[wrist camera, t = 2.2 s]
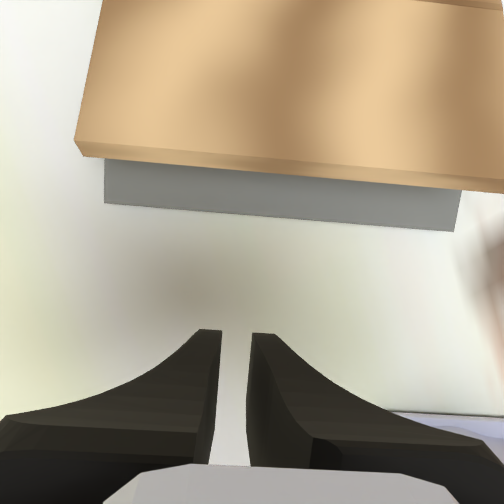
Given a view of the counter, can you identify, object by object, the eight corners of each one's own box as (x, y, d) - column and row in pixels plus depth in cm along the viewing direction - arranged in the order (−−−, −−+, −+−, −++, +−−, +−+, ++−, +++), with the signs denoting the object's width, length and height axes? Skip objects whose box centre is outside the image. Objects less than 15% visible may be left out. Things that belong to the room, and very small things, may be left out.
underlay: (496, -49, 18) (511, -61, 17) (443, 228, 21) (453, 232, 20) (115, -97, 17) (107, -113, 16) (110, 200, 20) (104, 202, 19)
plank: (485, 18, 17) (501, -3, 16) (509, 194, 15) (529, 181, 14) (119, -24, 17) (112, -49, 16) (83, 156, 14) (73, 139, 13)
